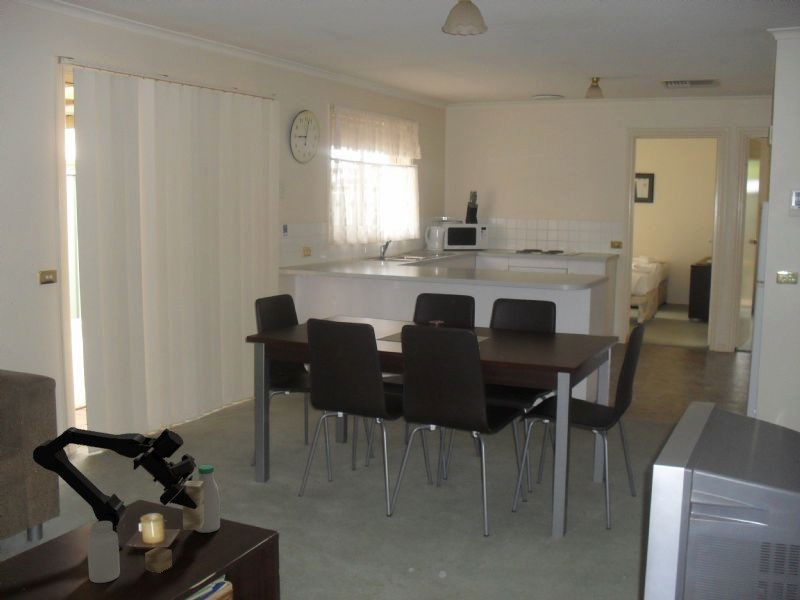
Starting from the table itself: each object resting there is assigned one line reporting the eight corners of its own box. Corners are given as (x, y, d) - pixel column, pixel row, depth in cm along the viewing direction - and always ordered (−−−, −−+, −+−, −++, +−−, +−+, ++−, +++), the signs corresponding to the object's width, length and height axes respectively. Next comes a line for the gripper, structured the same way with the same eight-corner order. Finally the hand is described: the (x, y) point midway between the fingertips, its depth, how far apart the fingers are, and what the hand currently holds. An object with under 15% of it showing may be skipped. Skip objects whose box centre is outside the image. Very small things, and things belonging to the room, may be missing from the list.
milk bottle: (223, 524, 255) (221, 463, 252) (215, 534, 247) (213, 471, 245) (199, 523, 256) (198, 462, 253) (191, 532, 248) (189, 470, 246)
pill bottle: (95, 570, 223) (93, 518, 221) (124, 570, 222) (122, 518, 221) (83, 583, 215) (81, 529, 213) (113, 584, 214) (111, 530, 213)
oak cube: (145, 570, 223) (145, 553, 222) (159, 563, 227) (158, 546, 227) (159, 574, 220) (158, 556, 220) (172, 567, 225) (171, 550, 224)
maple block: (183, 529, 233) (182, 486, 232) (187, 523, 238) (186, 480, 237) (200, 529, 233) (199, 486, 232) (204, 523, 238) (203, 480, 237)
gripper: (170, 459, 224) (210, 497, 225) (185, 439, 242) (223, 475, 244) (142, 486, 224) (183, 524, 226) (160, 465, 243) (197, 500, 245)
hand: (198, 504), depth 235 cm, fingers closed on maple block, 5 cm apart
